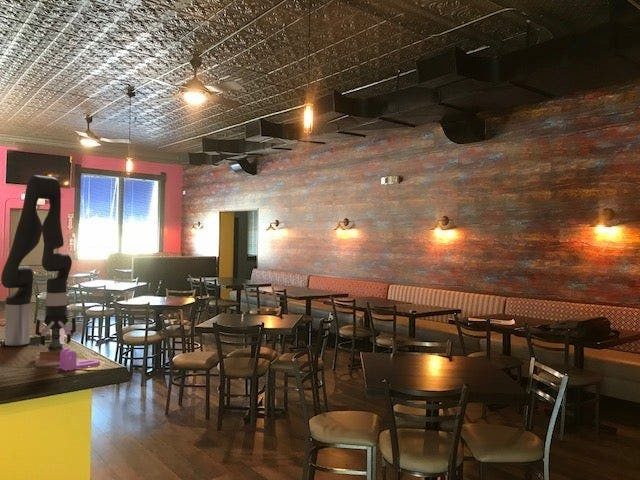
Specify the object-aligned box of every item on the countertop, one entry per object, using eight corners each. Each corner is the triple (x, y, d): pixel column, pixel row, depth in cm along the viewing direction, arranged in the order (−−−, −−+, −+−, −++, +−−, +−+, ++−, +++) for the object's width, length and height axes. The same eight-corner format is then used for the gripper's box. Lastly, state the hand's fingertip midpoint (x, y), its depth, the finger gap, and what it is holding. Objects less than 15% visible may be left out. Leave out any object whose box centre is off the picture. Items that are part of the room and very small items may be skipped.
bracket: (65, 371, 181) (65, 352, 181) (59, 368, 185) (60, 349, 185) (102, 365, 190) (102, 346, 190) (96, 362, 194) (96, 344, 194)
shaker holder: (36, 359, 195) (36, 351, 195) (65, 357, 199) (65, 349, 199) (35, 367, 185) (35, 358, 185) (66, 364, 190) (66, 356, 190)
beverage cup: (68, 346, 217) (69, 313, 217) (59, 349, 211) (60, 315, 211) (54, 345, 218) (55, 312, 217) (45, 348, 212) (46, 315, 211)
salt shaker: (56, 356, 200) (57, 326, 200) (43, 355, 201) (43, 325, 201) (66, 353, 206) (67, 323, 205) (53, 352, 207) (54, 322, 207)
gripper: (75, 301, 210) (75, 341, 210) (36, 303, 203) (35, 343, 203) (76, 304, 203) (76, 344, 203) (35, 305, 196) (35, 347, 196)
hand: (55, 344), depth 203 cm, fingers open, 8 cm apart
